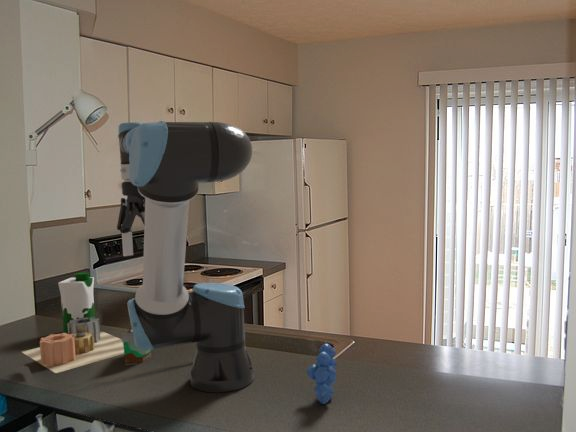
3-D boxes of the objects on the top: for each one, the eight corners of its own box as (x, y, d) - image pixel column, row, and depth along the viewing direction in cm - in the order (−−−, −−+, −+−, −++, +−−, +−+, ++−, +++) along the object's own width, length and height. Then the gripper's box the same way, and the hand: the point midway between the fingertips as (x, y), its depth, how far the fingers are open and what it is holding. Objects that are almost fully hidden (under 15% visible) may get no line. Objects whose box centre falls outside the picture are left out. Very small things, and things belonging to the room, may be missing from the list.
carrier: (142, 353, 154) (141, 332, 153) (56, 379, 137) (54, 355, 136) (102, 336, 171) (101, 316, 170) (21, 357, 154) (19, 335, 154)
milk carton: (86, 341, 166) (82, 276, 164) (58, 341, 167) (53, 276, 165) (100, 332, 175) (96, 270, 173) (73, 332, 176) (69, 270, 174)
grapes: (313, 386, 127) (311, 336, 126) (342, 389, 125) (340, 337, 124) (300, 408, 116) (298, 353, 115) (332, 411, 114) (330, 355, 113)
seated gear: (105, 339, 162) (104, 319, 162) (79, 347, 156) (78, 326, 155) (89, 334, 168) (88, 315, 167) (63, 342, 161) (62, 322, 160)
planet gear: (75, 352, 152) (74, 331, 151) (75, 362, 144) (74, 340, 143) (42, 357, 149) (40, 335, 148) (40, 367, 141) (38, 345, 140)
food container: (148, 372, 140) (145, 333, 139) (124, 372, 140) (121, 334, 139) (160, 355, 152) (158, 319, 151) (138, 355, 152) (136, 320, 151)
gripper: (101, 181, 156) (106, 255, 158) (147, 181, 138) (152, 265, 140) (126, 179, 161) (130, 251, 163) (173, 179, 144) (177, 260, 146)
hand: (140, 258), depth 152 cm, fingers open, 13 cm apart
